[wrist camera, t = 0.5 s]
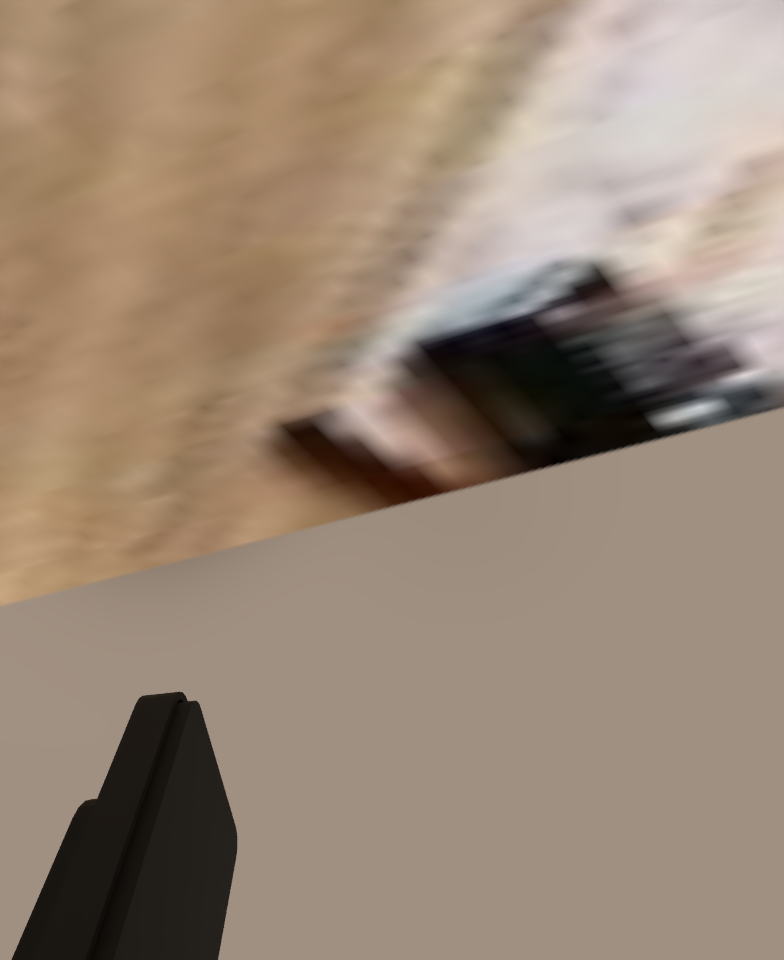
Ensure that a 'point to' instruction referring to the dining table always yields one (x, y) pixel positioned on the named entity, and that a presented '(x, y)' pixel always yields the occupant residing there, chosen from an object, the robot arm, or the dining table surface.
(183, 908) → the robot arm
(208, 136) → the dining table surface
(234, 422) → the dining table surface
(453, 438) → the dining table surface
